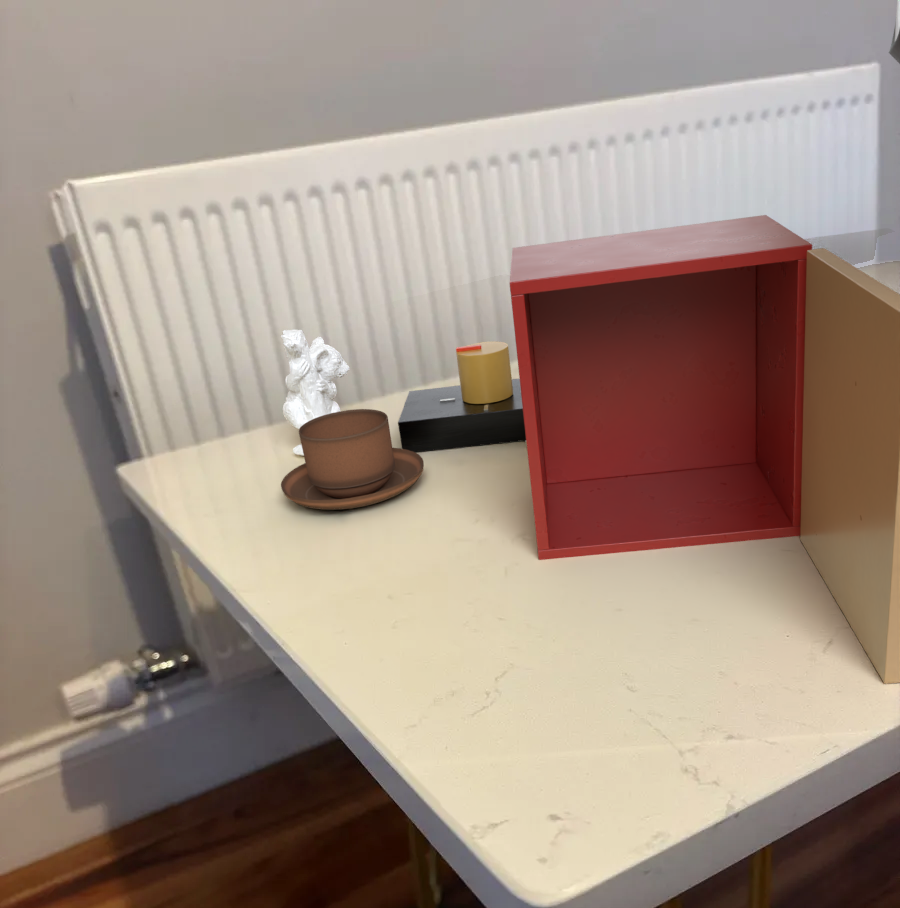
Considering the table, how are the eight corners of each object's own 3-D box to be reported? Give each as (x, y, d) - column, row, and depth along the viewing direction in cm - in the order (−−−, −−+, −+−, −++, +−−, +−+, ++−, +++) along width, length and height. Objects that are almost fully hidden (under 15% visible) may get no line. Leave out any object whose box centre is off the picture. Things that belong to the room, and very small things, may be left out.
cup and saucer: (257, 506, 87) (240, 436, 84) (363, 459, 94) (351, 394, 91) (347, 533, 79) (332, 457, 76) (456, 480, 86) (446, 409, 83)
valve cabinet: (805, 536, 68) (812, 244, 59) (538, 561, 70) (509, 282, 61) (764, 467, 79) (766, 214, 71) (537, 490, 81) (512, 247, 73)
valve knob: (513, 385, 98) (508, 335, 96) (512, 400, 94) (507, 348, 91) (463, 391, 98) (457, 341, 96) (460, 406, 94) (453, 354, 92)
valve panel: (538, 406, 101) (535, 374, 100) (539, 439, 92) (536, 405, 91) (413, 420, 103) (408, 389, 101) (402, 453, 94) (397, 420, 92)
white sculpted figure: (340, 467, 93) (315, 334, 88) (273, 469, 95) (244, 340, 89) (371, 435, 100) (349, 311, 95) (307, 438, 102) (283, 317, 97)
